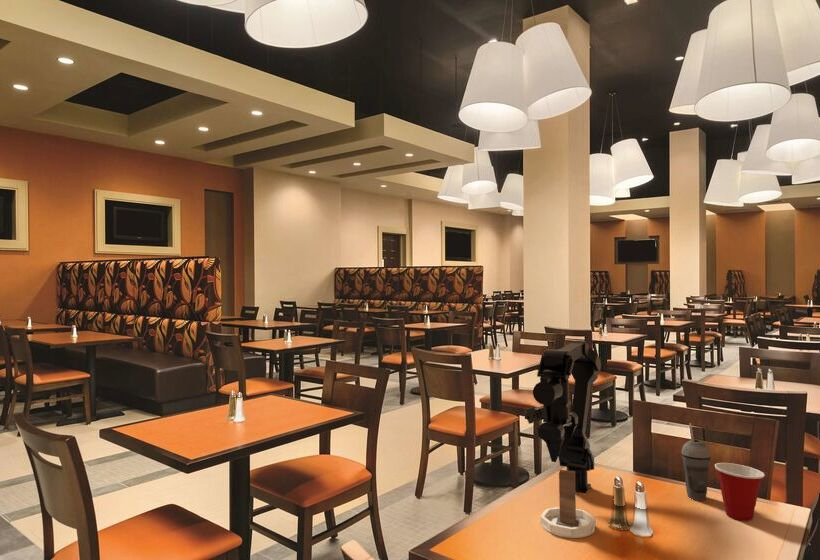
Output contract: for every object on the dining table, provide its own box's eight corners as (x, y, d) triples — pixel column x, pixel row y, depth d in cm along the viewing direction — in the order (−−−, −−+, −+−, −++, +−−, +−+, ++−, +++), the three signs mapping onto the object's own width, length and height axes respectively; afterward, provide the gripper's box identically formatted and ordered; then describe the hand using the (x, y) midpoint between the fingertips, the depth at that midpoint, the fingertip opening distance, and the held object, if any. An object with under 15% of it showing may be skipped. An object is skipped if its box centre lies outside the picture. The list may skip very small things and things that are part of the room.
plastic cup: (776, 523, 133) (775, 474, 133) (735, 527, 131) (734, 476, 131) (743, 505, 143) (742, 459, 143) (705, 508, 142) (704, 462, 142)
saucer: (549, 511, 141) (549, 503, 142) (599, 521, 135) (599, 512, 135) (535, 531, 131) (534, 521, 131) (588, 542, 125) (588, 532, 125)
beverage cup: (709, 505, 144) (707, 428, 144) (679, 499, 149) (677, 424, 149) (714, 496, 150) (712, 423, 150) (684, 490, 154) (683, 419, 154)
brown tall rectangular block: (558, 518, 136) (557, 467, 136) (579, 521, 134) (578, 470, 134) (556, 526, 132) (555, 474, 132) (577, 529, 130) (576, 476, 130)
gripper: (538, 389, 157) (539, 443, 157) (516, 401, 141) (517, 462, 141) (578, 392, 152) (579, 449, 152) (559, 405, 136) (561, 469, 135)
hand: (558, 456), depth 145 cm, fingers open, 9 cm apart
